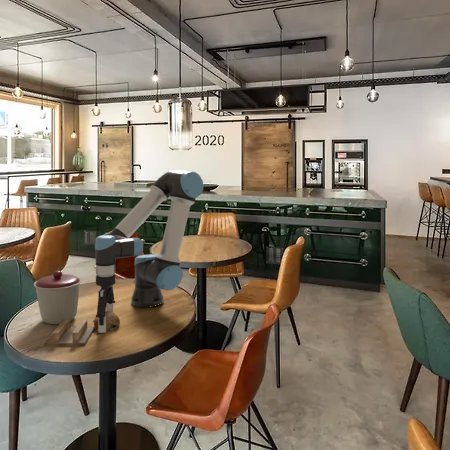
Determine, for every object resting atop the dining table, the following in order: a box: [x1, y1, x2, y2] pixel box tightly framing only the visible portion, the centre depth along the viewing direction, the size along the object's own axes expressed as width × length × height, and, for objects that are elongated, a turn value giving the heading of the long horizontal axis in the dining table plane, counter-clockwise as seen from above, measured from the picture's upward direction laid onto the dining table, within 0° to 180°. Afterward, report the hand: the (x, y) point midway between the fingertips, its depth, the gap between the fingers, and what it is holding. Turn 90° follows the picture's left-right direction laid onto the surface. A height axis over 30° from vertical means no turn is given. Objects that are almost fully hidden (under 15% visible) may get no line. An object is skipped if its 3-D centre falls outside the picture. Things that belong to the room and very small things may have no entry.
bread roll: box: [92, 311, 121, 332], centre depth 158 cm, size 10×10×8 cm
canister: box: [33, 270, 82, 325], centre depth 162 cm, size 18×18×21 cm
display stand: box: [44, 319, 96, 347], centre depth 147 cm, size 14×14×4 cm
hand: (106, 325), depth 158 cm, fingers open, 13 cm apart
